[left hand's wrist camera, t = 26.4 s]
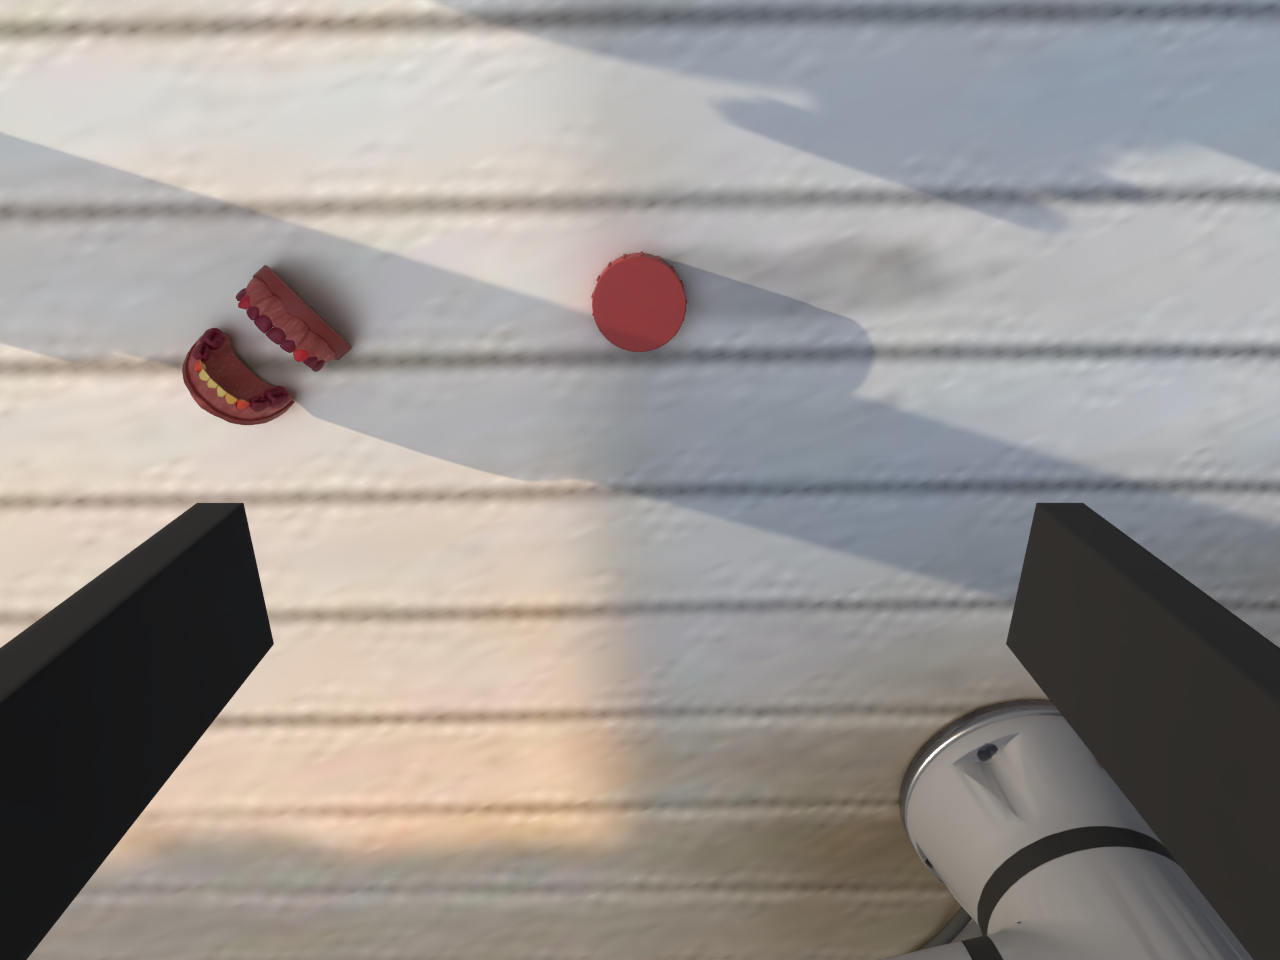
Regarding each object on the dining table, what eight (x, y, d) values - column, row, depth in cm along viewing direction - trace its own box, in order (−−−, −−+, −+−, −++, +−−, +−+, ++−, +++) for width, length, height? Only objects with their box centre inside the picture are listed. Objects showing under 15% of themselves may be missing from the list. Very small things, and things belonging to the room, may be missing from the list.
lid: (574, 292, 39) (570, 298, 37) (645, 231, 38) (646, 234, 36) (632, 362, 41) (632, 372, 39) (703, 305, 39) (706, 312, 38)
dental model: (143, 372, 36) (247, 259, 34) (188, 351, 40) (284, 248, 38) (239, 453, 38) (343, 349, 36) (273, 426, 42) (369, 330, 40)
